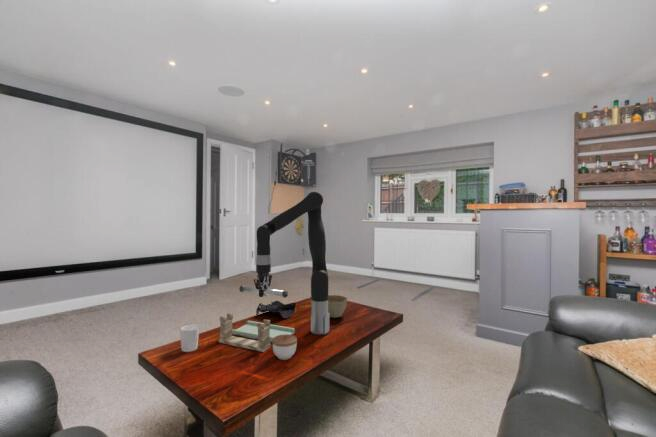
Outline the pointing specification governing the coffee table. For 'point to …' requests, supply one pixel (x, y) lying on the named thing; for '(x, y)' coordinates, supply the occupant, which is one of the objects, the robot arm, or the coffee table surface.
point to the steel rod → (264, 291)
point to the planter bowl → (336, 305)
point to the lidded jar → (284, 346)
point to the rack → (258, 345)
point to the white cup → (189, 337)
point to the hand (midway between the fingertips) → (263, 295)
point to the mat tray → (252, 331)
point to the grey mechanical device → (277, 308)
